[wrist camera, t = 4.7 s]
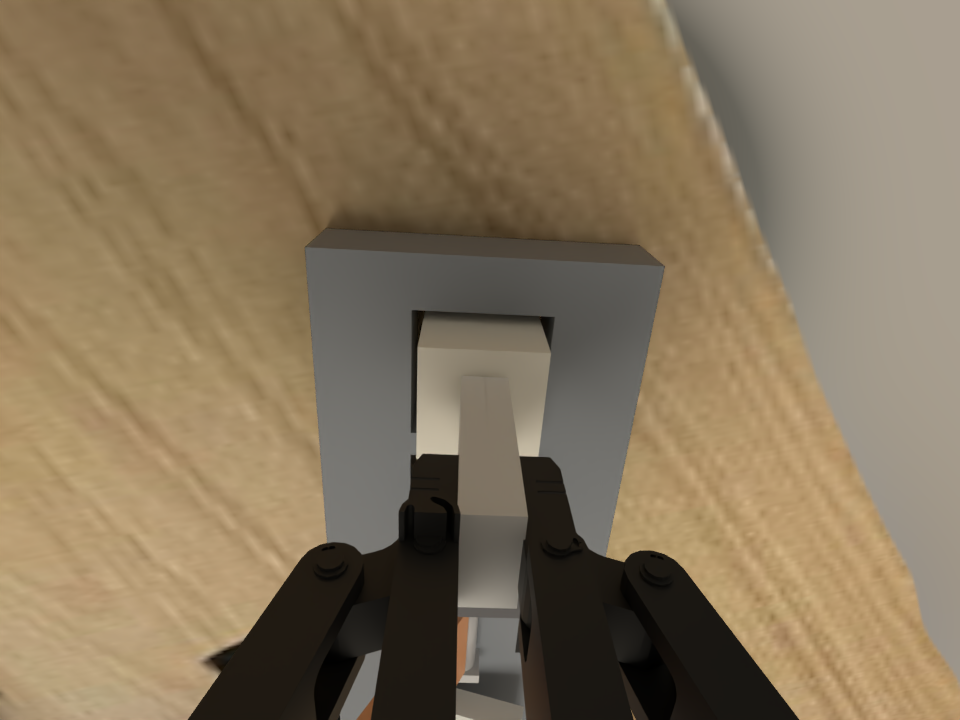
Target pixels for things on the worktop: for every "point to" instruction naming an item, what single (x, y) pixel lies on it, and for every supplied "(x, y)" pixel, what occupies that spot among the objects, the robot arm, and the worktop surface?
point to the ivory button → (479, 374)
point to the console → (393, 383)
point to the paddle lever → (464, 654)
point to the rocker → (484, 707)
